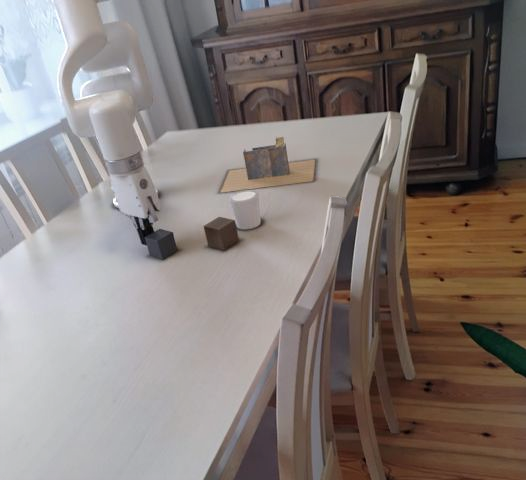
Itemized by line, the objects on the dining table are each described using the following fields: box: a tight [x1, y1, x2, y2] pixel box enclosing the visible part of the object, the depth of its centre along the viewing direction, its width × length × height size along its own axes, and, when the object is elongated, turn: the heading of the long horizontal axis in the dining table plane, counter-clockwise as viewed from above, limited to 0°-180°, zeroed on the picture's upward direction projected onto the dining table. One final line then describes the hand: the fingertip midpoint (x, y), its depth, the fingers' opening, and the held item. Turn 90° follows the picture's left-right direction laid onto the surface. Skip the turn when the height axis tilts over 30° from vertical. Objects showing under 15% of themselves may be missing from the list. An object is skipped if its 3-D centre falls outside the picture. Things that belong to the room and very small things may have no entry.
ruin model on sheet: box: [220, 135, 316, 193], centre depth 154 cm, size 25×16×10 cm, turn 84°
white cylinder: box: [228, 189, 262, 230], centre depth 131 cm, size 7×7×7 cm
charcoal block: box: [144, 228, 179, 261], centre depth 127 cm, size 5×5×5 cm
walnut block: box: [203, 216, 240, 251], centre depth 126 cm, size 5×5×5 cm
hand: (149, 242), depth 130 cm, fingers closed
